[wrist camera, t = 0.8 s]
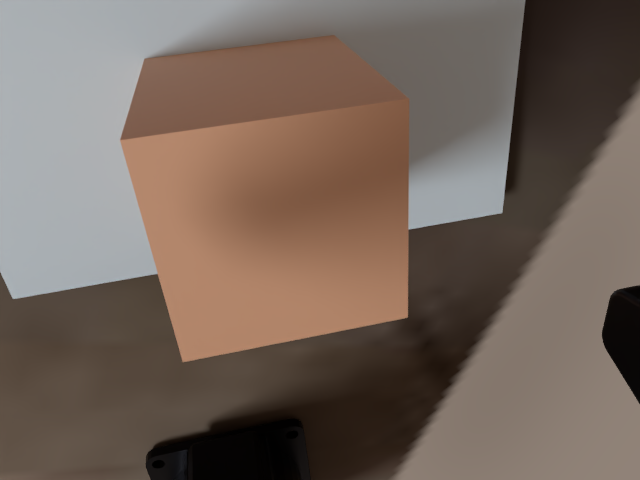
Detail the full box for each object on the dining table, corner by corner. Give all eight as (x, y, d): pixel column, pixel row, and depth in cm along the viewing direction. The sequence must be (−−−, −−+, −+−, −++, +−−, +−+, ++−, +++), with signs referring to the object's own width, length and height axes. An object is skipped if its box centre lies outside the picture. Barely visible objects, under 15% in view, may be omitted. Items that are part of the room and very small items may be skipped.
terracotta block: (344, 199, 17) (407, 317, 12) (184, 226, 17) (182, 362, 12) (334, 35, 15) (409, 98, 10) (144, 58, 14) (120, 140, 9)
